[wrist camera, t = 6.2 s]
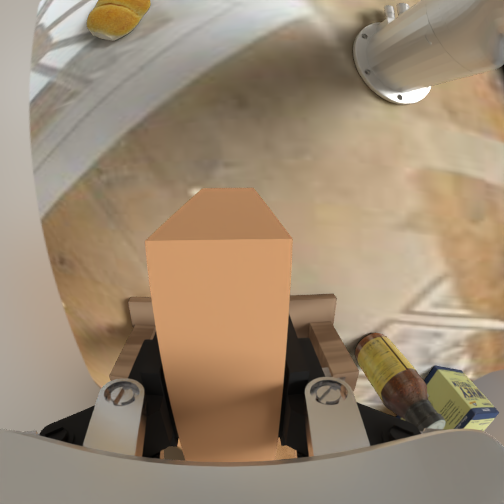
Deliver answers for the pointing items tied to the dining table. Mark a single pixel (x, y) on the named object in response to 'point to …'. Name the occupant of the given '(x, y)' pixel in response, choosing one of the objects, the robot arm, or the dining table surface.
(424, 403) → the sauce bottle
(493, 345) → the dining table surface
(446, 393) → the protein box
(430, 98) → the dining table surface
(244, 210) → the wooden arch block
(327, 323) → the rail stand
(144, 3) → the bread roll
